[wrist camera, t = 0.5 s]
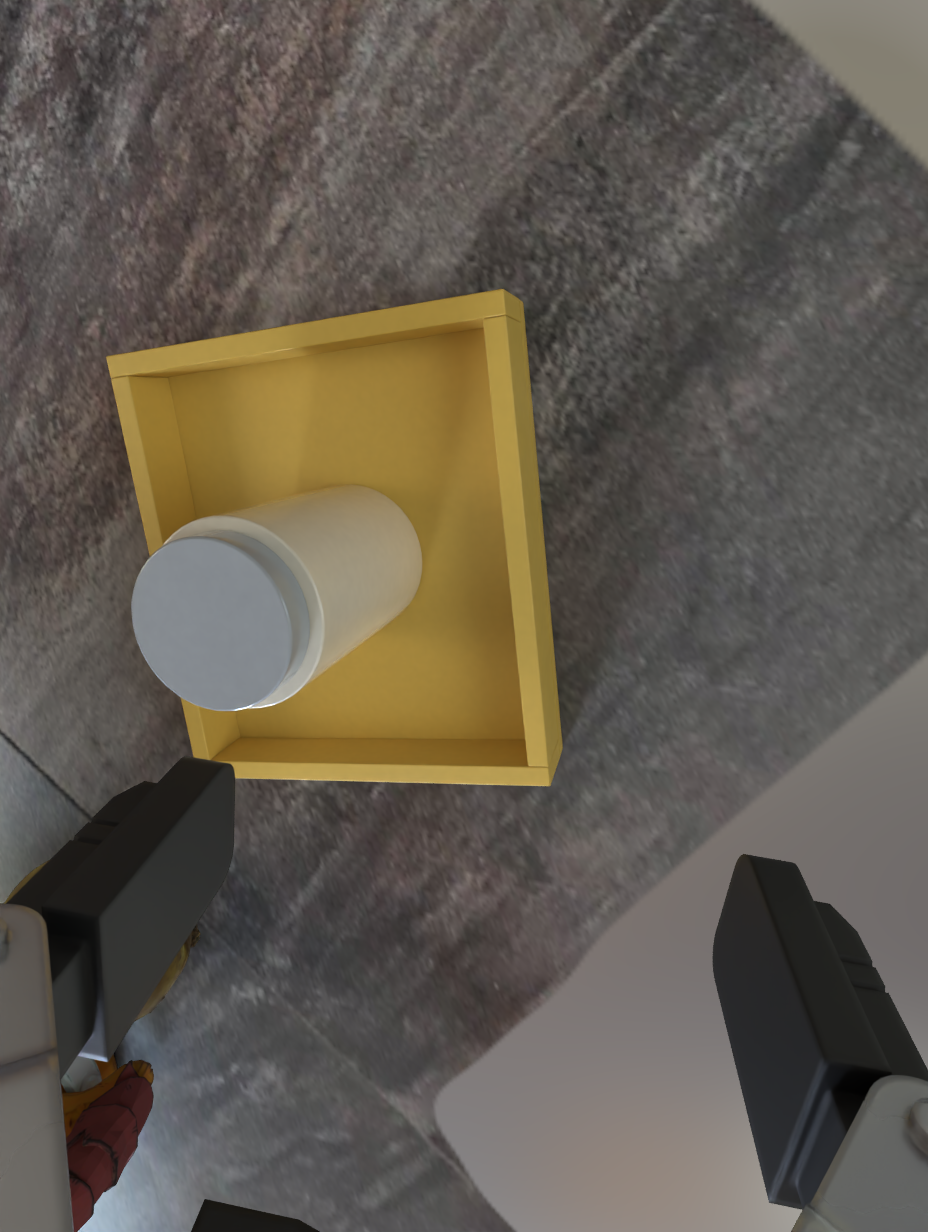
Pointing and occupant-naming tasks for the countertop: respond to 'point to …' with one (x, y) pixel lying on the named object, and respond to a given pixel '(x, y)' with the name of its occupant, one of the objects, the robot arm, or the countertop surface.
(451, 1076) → the countertop surface
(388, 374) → the tray
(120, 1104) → the mug
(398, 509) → the jar with grey lid
